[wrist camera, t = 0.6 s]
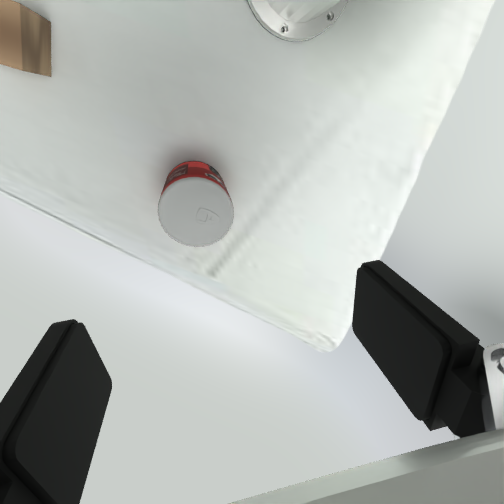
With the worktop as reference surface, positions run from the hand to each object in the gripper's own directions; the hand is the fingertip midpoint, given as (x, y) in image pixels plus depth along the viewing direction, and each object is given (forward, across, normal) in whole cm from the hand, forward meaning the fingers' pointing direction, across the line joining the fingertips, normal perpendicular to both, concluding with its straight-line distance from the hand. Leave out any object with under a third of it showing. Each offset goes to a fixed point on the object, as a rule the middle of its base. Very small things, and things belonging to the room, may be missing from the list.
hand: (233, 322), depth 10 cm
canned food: (+32, +2, +3) cm, 33 cm away
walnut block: (+32, +16, -14) cm, 39 cm away
